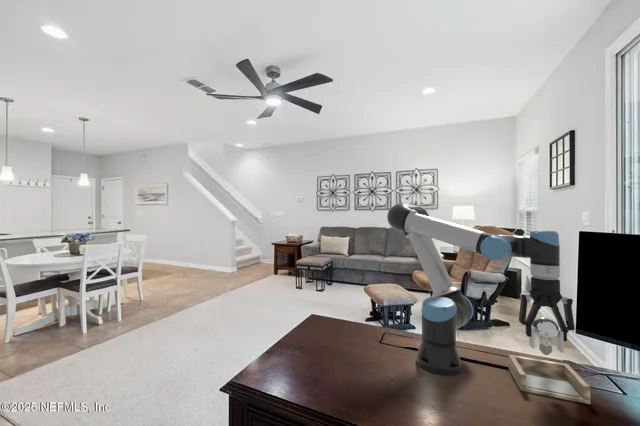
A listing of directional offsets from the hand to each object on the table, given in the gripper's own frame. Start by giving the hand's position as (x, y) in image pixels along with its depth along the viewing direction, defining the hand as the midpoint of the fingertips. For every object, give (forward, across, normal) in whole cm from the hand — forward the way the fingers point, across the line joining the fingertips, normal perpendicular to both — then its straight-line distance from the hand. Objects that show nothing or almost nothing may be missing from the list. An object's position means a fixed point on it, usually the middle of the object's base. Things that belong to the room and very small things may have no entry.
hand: (545, 348), depth 90 cm
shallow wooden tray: (+12, 0, +1) cm, 12 cm away
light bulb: (+2, 0, 0) cm, 2 cm away
